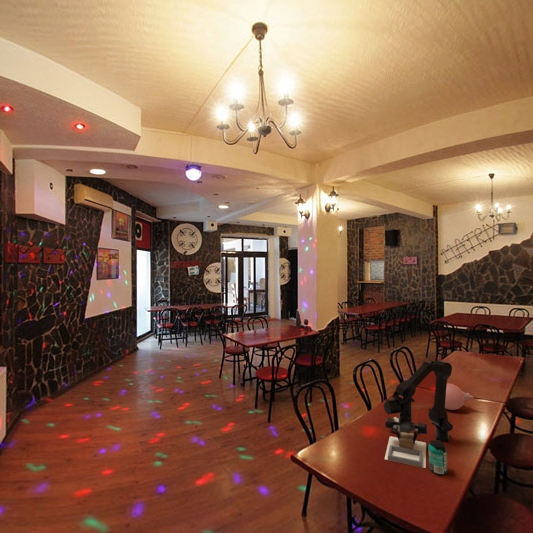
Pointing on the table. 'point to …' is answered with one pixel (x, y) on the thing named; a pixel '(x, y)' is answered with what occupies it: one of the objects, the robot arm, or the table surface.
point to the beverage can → (437, 458)
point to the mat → (406, 453)
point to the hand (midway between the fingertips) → (406, 443)
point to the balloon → (455, 397)
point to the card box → (406, 440)
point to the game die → (396, 421)
